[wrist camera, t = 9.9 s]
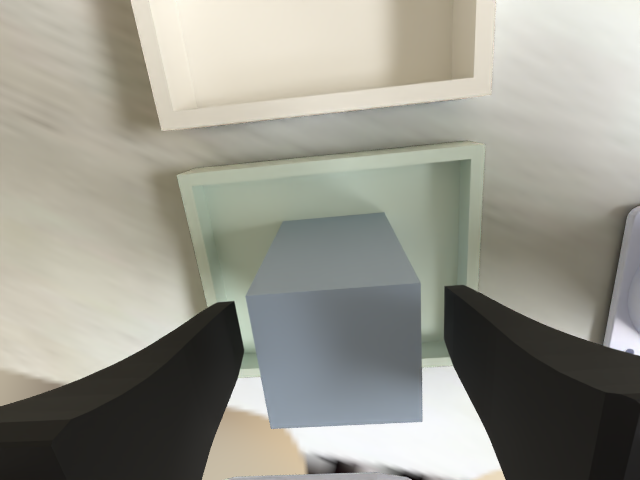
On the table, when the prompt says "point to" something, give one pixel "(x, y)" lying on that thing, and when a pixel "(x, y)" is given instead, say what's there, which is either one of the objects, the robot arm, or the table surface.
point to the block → (338, 324)
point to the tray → (342, 200)
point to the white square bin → (310, 56)
